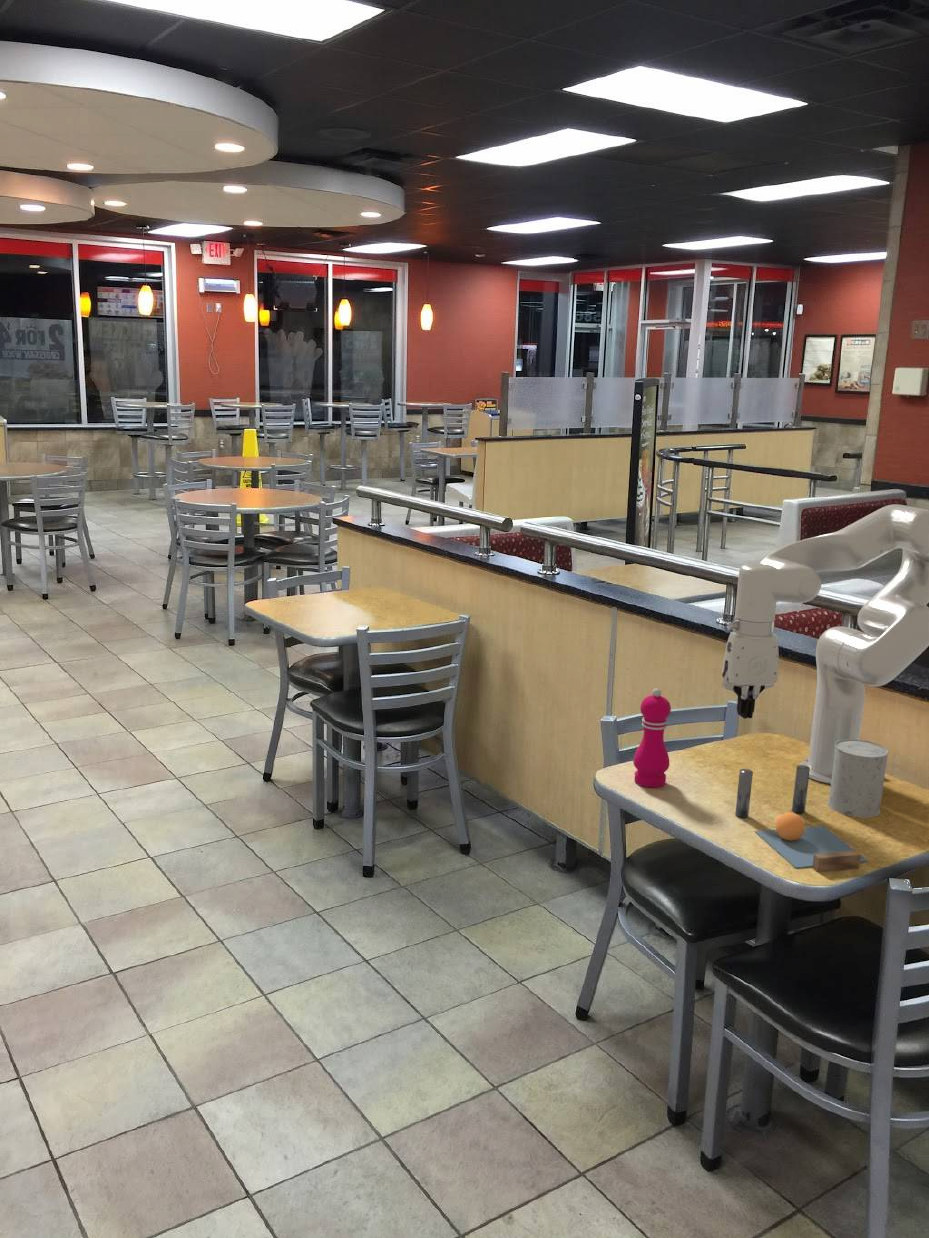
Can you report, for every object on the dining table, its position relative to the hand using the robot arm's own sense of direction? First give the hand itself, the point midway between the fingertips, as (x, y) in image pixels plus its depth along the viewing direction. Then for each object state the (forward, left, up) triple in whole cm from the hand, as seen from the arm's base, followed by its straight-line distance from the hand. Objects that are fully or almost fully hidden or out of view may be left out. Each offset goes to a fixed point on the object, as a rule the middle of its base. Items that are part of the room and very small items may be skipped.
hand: (744, 716), depth 202 cm
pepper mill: (+17, -5, -15) cm, 23 cm away
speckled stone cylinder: (-18, +13, -15) cm, 27 cm away
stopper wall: (0, +35, -15) cm, 38 cm away
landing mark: (0, +27, -15) cm, 31 cm away
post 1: (+6, +13, -15) cm, 21 cm away
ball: (+2, +24, -13) cm, 27 cm away
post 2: (-6, +13, -15) cm, 21 cm away
